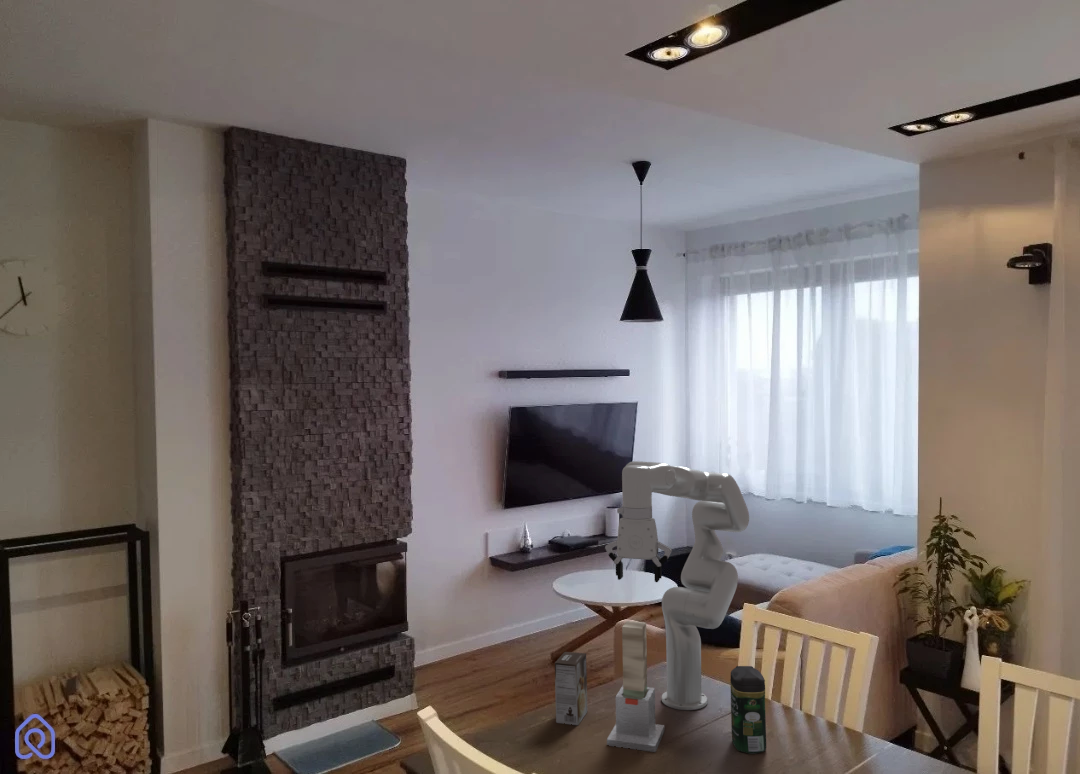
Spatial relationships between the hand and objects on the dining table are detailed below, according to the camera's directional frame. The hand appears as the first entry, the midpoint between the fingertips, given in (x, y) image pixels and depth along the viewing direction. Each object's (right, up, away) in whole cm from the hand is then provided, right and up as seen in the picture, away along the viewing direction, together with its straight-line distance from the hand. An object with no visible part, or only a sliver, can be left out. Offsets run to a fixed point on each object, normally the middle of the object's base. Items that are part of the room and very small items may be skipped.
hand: (638, 579), depth 200 cm
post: (-1, -30, -6) cm, 30 cm away
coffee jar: (+25, -38, -11) cm, 47 cm away
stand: (-1, -38, -6) cm, 39 cm away
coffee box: (-17, -39, +7) cm, 43 cm away
